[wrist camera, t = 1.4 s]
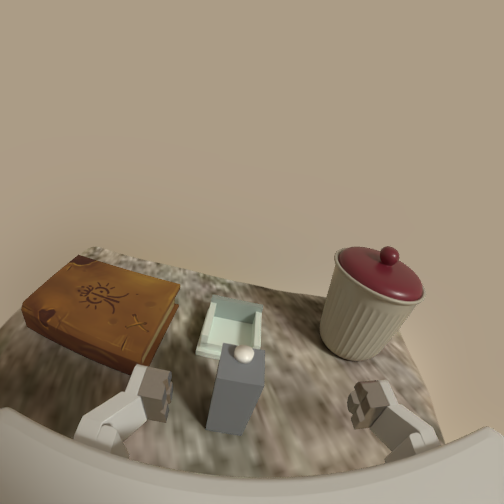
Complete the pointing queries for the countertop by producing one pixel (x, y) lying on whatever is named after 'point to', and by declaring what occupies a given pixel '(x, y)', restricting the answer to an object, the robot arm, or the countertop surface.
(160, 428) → the countertop surface
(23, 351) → the countertop surface
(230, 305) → the pocket
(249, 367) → the grey block with knob
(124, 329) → the diary
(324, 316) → the canister
